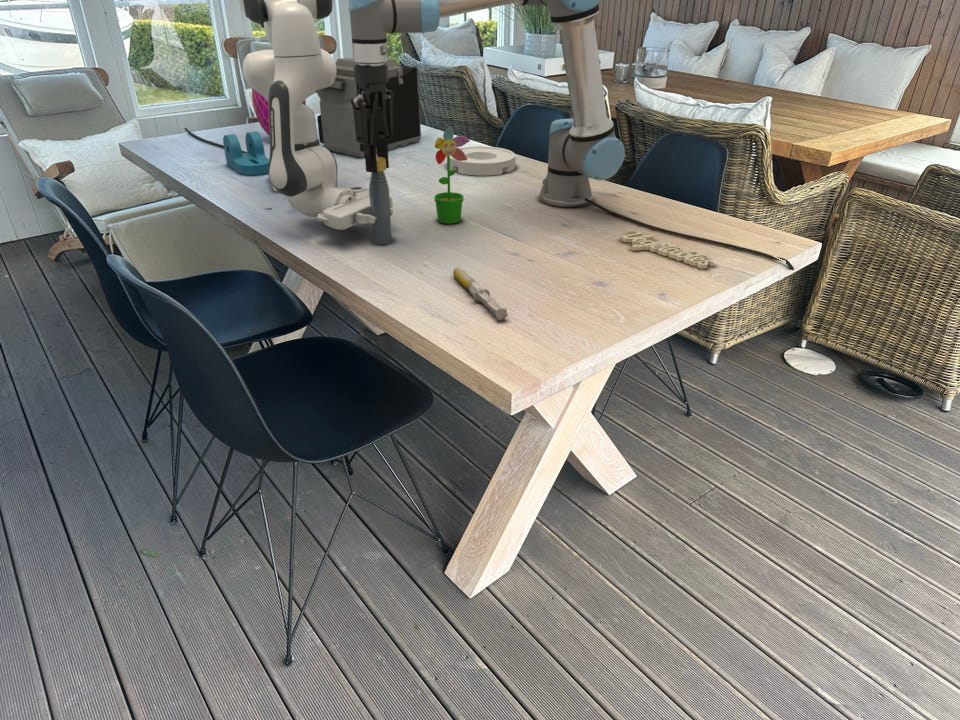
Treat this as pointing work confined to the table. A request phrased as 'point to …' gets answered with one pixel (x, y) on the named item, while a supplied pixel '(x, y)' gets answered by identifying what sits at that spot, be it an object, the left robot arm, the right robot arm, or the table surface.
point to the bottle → (380, 208)
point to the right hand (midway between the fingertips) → (377, 169)
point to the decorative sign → (666, 249)
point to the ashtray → (484, 161)
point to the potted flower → (449, 201)
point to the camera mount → (246, 154)
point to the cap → (381, 163)
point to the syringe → (479, 293)
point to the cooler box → (339, 111)
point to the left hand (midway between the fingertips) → (383, 216)
